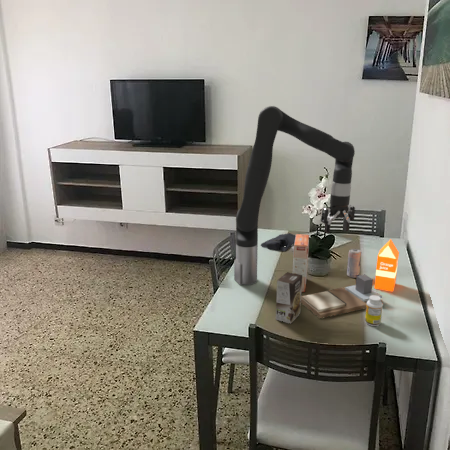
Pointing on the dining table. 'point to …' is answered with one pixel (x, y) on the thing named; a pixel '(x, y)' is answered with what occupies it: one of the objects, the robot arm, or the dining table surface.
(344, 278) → the dining table surface
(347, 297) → the board
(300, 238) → the cracker box
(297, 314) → the coffee box
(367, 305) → the supplement bottle
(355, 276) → the energy drink
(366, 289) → the grey cube on base
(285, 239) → the dark slate chunk
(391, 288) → the orange juice
